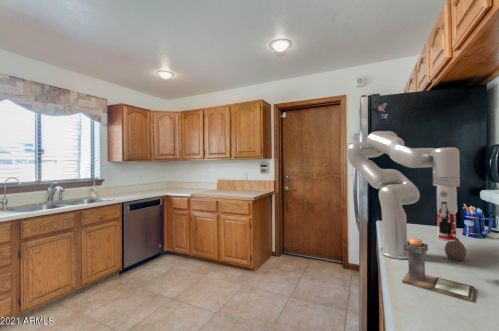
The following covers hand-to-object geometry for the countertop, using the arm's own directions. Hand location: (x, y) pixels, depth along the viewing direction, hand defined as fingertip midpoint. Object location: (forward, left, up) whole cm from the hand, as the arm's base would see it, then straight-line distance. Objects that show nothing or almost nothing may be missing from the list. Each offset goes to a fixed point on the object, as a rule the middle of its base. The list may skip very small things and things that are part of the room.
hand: (446, 231), depth 87 cm
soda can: (0, 0, -3) cm, 3 cm away
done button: (+6, -12, -4) cm, 14 cm away
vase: (-17, +10, -16) cm, 26 cm away
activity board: (+9, -7, -16) cm, 20 cm away
